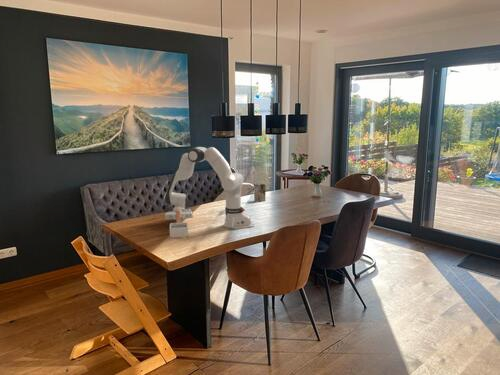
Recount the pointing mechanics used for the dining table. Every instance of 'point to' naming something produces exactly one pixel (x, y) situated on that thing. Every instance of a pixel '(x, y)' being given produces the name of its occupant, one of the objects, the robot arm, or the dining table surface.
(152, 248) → the dining table surface
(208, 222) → the dining table surface
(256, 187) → the coffee box
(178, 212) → the peg
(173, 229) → the open box
